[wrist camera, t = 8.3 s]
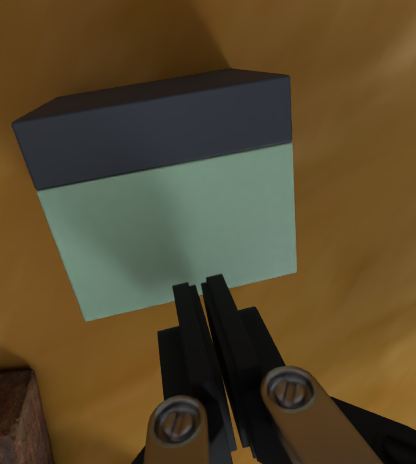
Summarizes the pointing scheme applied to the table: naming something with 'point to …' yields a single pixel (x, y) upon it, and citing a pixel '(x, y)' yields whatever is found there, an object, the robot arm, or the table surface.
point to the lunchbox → (166, 185)
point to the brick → (22, 420)
